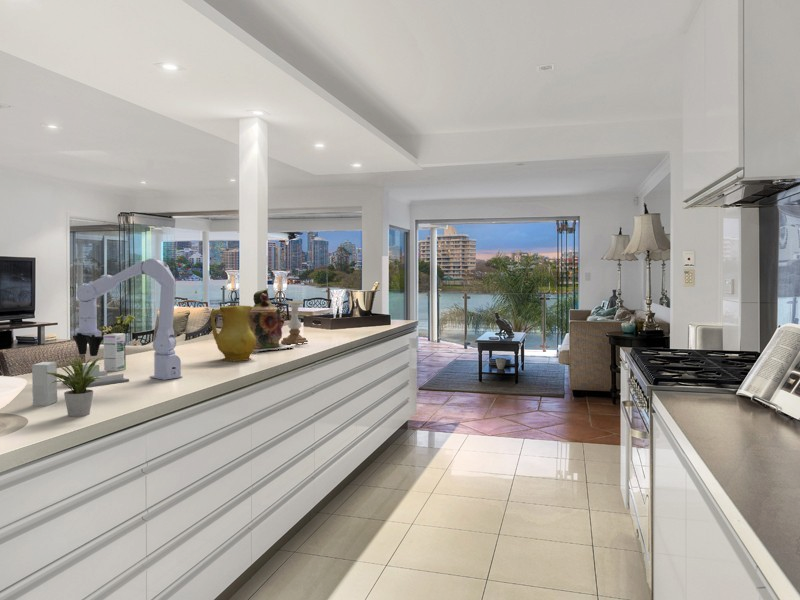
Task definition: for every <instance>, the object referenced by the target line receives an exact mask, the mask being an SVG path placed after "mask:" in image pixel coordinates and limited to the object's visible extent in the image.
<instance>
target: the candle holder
mask: <svg viewBox="0 0 800 600" xmlns="http://www.w3.org/2000/svg"><path fill="white" fill-rule="evenodd" d="M285 304H286V305H289V306H290V308H291V311H290V312H289V314H290V316H291V317H290V321H289V322H288V325H287V326H288V328H289V331H288V332H289V335H287V337H282V340H280V344H281V343H282V345H287V344H298V343H304V342H308V341H309V339H307V338H306V337H303V336H302V335H300V333H301V330H300V329H301V327H302V323H301V322H300V319H299V314H300V312H299V307H300V306H301V305H303V304H305V302H304V301H298V300H297V301H295V300H293V301H292V300H291V301H285ZM308 343H309V342H308Z"/></svg>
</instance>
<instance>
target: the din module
mask: <svg viewBox="0 0 800 600" xmlns="http://www.w3.org/2000/svg"><path fill="white" fill-rule="evenodd" d="M90 364H91V363H90ZM90 364H89V363H87V365H86V367H85V364H83V370H84V367H85V370H84V373H83V377H84V375H85V373H86V371H87V370H88V368H89V366H90ZM97 365H98V364H97V363H95V365H94V367H93V368H92V370H91V371H90V372H89V374H88V376H89V375H90V376H98V377H99V371H100V364H99V365H98V366H97ZM96 366H97V367H96ZM95 367H96V368H95ZM92 371H93V372H92ZM91 372H92V373H91ZM90 373H91V374H90ZM87 378H88V377H87Z"/></svg>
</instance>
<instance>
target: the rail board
mask: <svg viewBox="0 0 800 600" xmlns="http://www.w3.org/2000/svg"><path fill="white" fill-rule="evenodd" d="M70 375H71V376H72V377H73V375H72V374H70ZM67 377H69V378H70V379H71V377H70V376H69V374H67ZM94 378H100V379H94V380H97V381H94V382H92V383H90V384H89V385H88V386H87V388H92V387H98V386H99V387H100V386H107V385H115V384H121V383H127V382H130V378H129V379H128V378H124V373H116V374H115V373H114V374H108V371H105V370H99V377H94ZM92 379H93V378H92ZM64 381H65V380H64ZM65 382H66V381H65ZM65 382H64V383H65ZM64 383H63V384H64ZM65 384H67V383H65ZM65 384H64V385H65ZM67 385H68V384H67Z"/></svg>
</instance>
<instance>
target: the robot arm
mask: <svg viewBox="0 0 800 600" xmlns="http://www.w3.org/2000/svg"><path fill="white" fill-rule="evenodd" d="M138 275H146V276H147V277H150V278H151V279H154V280H155V281H156V282H157V283H158V284H159V285H160V295H159V296H160V297H159V309H158V312H159V313H158V327H157V331H156V333H155V334H156V335H155V339H154V340H153V343H152V348H153V350H154V353H153V354H154V355H153V357H154V359H153V360H154V363H153V365H154V367H153V368H154V370H153V371H154V373H153V375H149V378H151V379H152V378H153V379H158V380H164V381H165V380H171V379H179V378H183V375H182V372H181V371H182V370H181V369H182V366H181V365H182V364H181V363H182V361H181V358H180V357H179V356H178V355H176V351H175V348H176V346H177V339H176V337H175V330H174V316H175V315H174V312H175V299H176V297H175V295H176V285H177V283H176V279H175V277H174V275H173V273H172V271H171V269H170V267H169V265H168V264H167V263H166V262H164V261H163V260H162V259H157V258H156V259H154V258H147V259H145V260H142V261H139V262H137V263H135V264H132V265H131V266H129V267H127V268H125V269H124V270H121V271H120V272H117V273H115V274H113V275H112V274H111V275H110V274H102V275H100V277H99V278H98V279H96V280H94V281H92V280H91V281H89V282H88V284H82V285H80V286H79V287H78V288H77V289H76V297H77V298H78V301H79V302H78V304H79V305H78V315H79V316H78V323H79V324H78V326H79V327H78V328H75V329H74V334H75V335H72V338H73V340H74V342H75V344H76V347H77V351H78V354H79V355H87V351H89V356H90V357H97V356H98V354H99V350H100V347H101V344H102V342H103V341H104V336H102V330H99V329H98V326H97V324H98V319H97V317H98V316H97V313H98V312H97V311H98V310H97V309H98V308H97V300H98V298H99V297H101V296H104V295H105V294H107V293H110V292H111V291H114V290H115V289H116V288H117V287H118V284H120V283H122V282H124V281H127V280H129V279H131V278H133V277H135V276H138ZM88 347H89V348H88ZM87 349H88V350H87Z"/></svg>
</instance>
